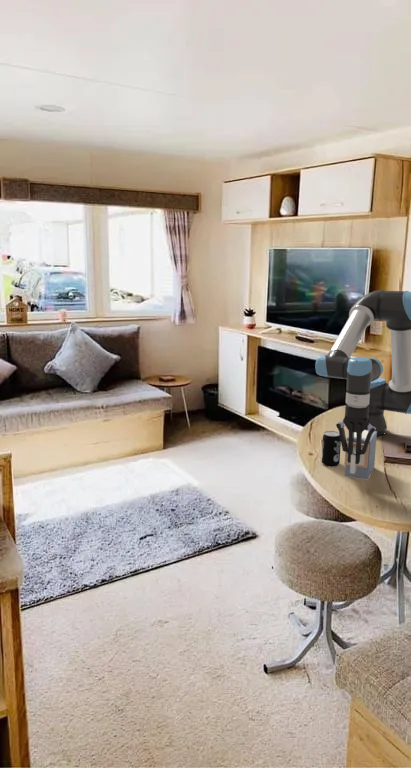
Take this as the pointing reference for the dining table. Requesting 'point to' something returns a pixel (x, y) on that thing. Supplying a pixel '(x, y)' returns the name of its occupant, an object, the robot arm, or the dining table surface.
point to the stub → (363, 457)
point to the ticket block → (366, 472)
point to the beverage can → (331, 448)
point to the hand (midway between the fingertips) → (353, 472)
